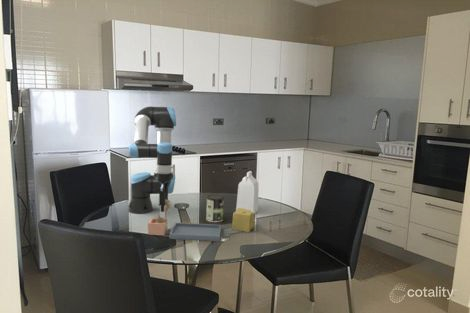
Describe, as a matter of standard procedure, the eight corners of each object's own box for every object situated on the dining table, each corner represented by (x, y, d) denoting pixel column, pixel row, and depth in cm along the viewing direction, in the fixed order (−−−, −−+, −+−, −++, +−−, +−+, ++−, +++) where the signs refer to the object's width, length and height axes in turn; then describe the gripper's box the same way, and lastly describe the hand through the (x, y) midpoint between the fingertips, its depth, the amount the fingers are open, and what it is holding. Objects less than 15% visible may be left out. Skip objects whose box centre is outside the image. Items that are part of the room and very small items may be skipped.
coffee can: (224, 217, 232) (225, 195, 230) (220, 223, 222) (221, 199, 220) (208, 216, 234) (209, 193, 232) (203, 221, 224) (204, 197, 222)
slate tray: (169, 238, 194) (169, 234, 194) (175, 226, 212) (175, 222, 212) (219, 241, 194) (219, 236, 194) (221, 229, 212) (221, 224, 212)
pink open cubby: (147, 234, 199) (148, 223, 198) (151, 228, 207) (151, 218, 207) (164, 235, 199) (164, 224, 198) (167, 229, 207) (167, 218, 207)
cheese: (254, 227, 218) (255, 210, 217) (249, 233, 208) (250, 215, 207) (237, 224, 222) (238, 207, 220) (231, 230, 212) (232, 212, 210)
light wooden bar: (153, 230, 201) (154, 200, 199) (155, 227, 205) (156, 198, 202) (169, 231, 201) (170, 201, 199) (170, 229, 205) (172, 199, 202)
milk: (253, 215, 240) (255, 174, 236) (235, 212, 244) (237, 172, 240) (258, 210, 251) (260, 171, 247) (241, 207, 255) (243, 169, 251)
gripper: (168, 176, 190) (167, 221, 194) (174, 169, 206) (173, 211, 210) (153, 175, 190) (152, 220, 194) (160, 169, 206) (159, 210, 210)
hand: (163, 215), depth 202 cm, fingers closed on light wooden bar, 4 cm apart
